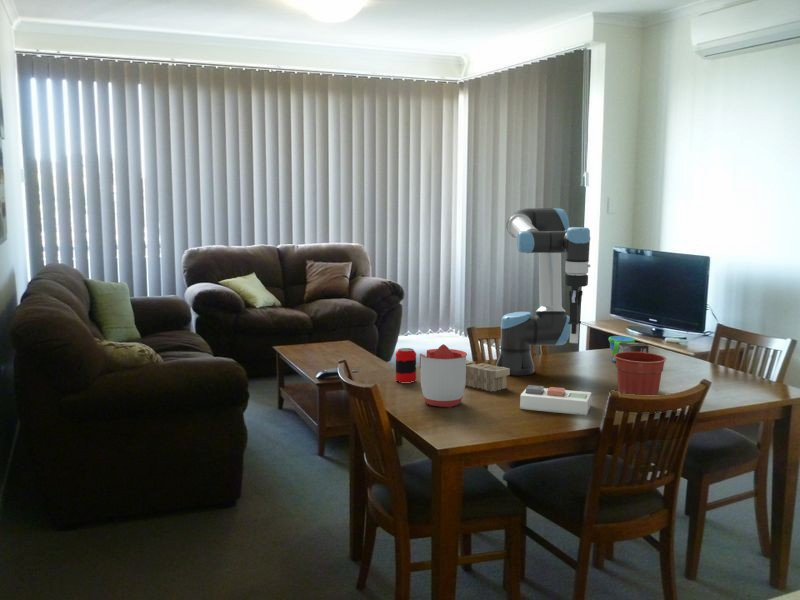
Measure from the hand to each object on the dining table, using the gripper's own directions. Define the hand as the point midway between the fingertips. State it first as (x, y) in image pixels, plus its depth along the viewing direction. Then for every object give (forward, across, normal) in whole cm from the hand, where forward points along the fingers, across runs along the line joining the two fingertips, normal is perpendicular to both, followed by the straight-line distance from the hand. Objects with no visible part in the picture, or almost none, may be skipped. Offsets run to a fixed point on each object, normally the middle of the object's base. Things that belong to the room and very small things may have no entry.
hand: (573, 342), depth 254 cm
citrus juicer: (+19, -23, +40) cm, 50 cm away
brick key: (+16, -14, +3) cm, 22 cm away
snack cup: (+22, +64, -12) cm, 69 cm away
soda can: (+20, +1, +61) cm, 64 cm away
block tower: (+21, +6, +37) cm, 43 cm away
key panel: (+19, -15, +3) cm, 24 cm away
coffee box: (+20, +22, -19) cm, 35 cm away
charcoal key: (+16, -14, +10) cm, 24 cm away
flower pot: (+19, 0, -22) cm, 29 cm away
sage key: (+17, -14, -4) cm, 23 cm away
